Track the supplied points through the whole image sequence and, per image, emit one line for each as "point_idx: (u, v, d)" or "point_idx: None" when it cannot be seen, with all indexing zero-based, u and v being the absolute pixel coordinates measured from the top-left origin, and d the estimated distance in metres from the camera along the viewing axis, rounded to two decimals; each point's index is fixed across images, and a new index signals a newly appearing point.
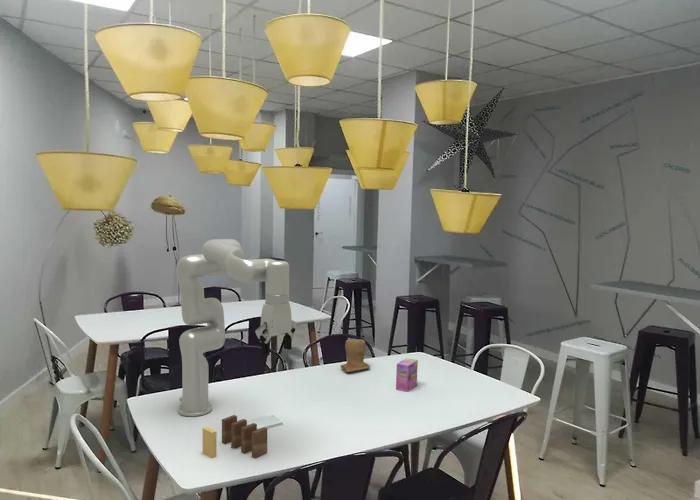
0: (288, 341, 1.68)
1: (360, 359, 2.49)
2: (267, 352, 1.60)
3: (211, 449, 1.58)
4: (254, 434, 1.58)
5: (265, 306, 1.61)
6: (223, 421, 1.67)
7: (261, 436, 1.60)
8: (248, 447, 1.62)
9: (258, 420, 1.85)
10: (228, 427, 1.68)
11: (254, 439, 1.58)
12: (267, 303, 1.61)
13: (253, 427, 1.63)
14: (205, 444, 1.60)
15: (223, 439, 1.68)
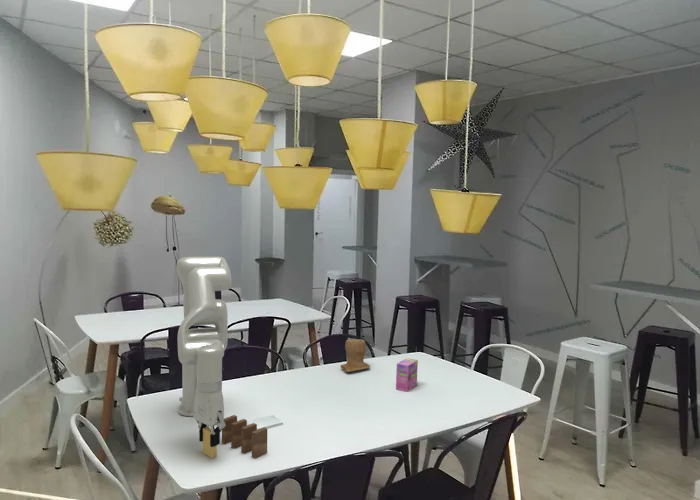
0: None
1: (360, 359, 2.49)
2: None
3: (211, 449, 1.58)
4: (254, 434, 1.58)
5: (216, 395, 1.56)
6: None
7: (261, 436, 1.60)
8: (248, 447, 1.62)
9: (258, 420, 1.85)
10: (228, 427, 1.68)
11: (254, 439, 1.58)
12: (215, 391, 1.56)
13: (253, 427, 1.63)
14: (205, 444, 1.60)
15: (223, 439, 1.68)
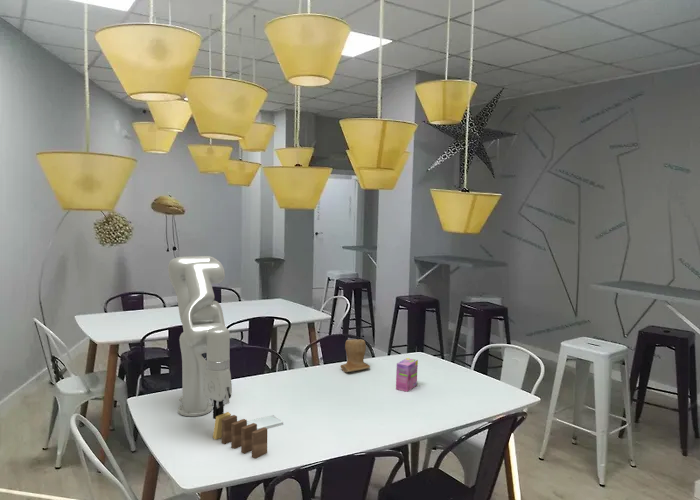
0: None
1: (360, 359, 2.49)
2: None
3: None
4: (254, 434, 1.58)
5: (225, 372, 1.69)
6: (223, 421, 1.67)
7: (261, 436, 1.59)
8: (248, 447, 1.62)
9: (258, 420, 1.85)
10: (228, 427, 1.68)
11: (254, 439, 1.58)
12: (223, 369, 1.69)
13: (253, 427, 1.63)
14: (220, 429, 1.71)
15: (223, 439, 1.68)
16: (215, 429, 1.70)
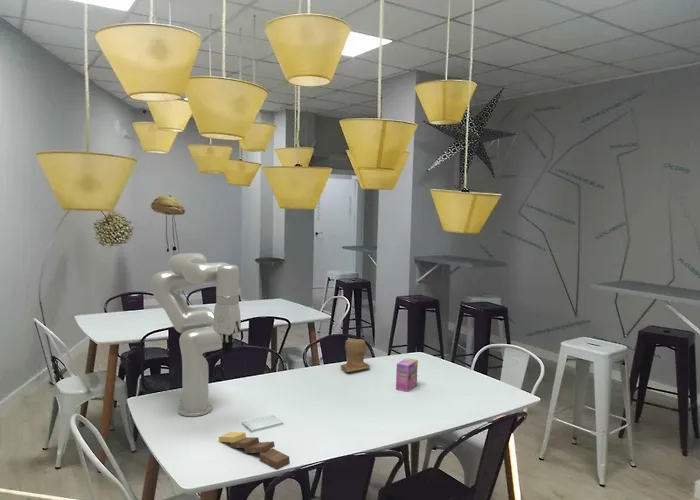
0: None
1: (360, 359, 2.49)
2: None
3: None
4: None
5: (234, 307, 1.74)
6: (245, 445, 1.61)
7: None
8: None
9: (259, 420, 1.85)
10: None
11: None
12: (233, 304, 1.74)
13: None
14: None
15: (233, 445, 1.64)
16: (225, 439, 1.67)
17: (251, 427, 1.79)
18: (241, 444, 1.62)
